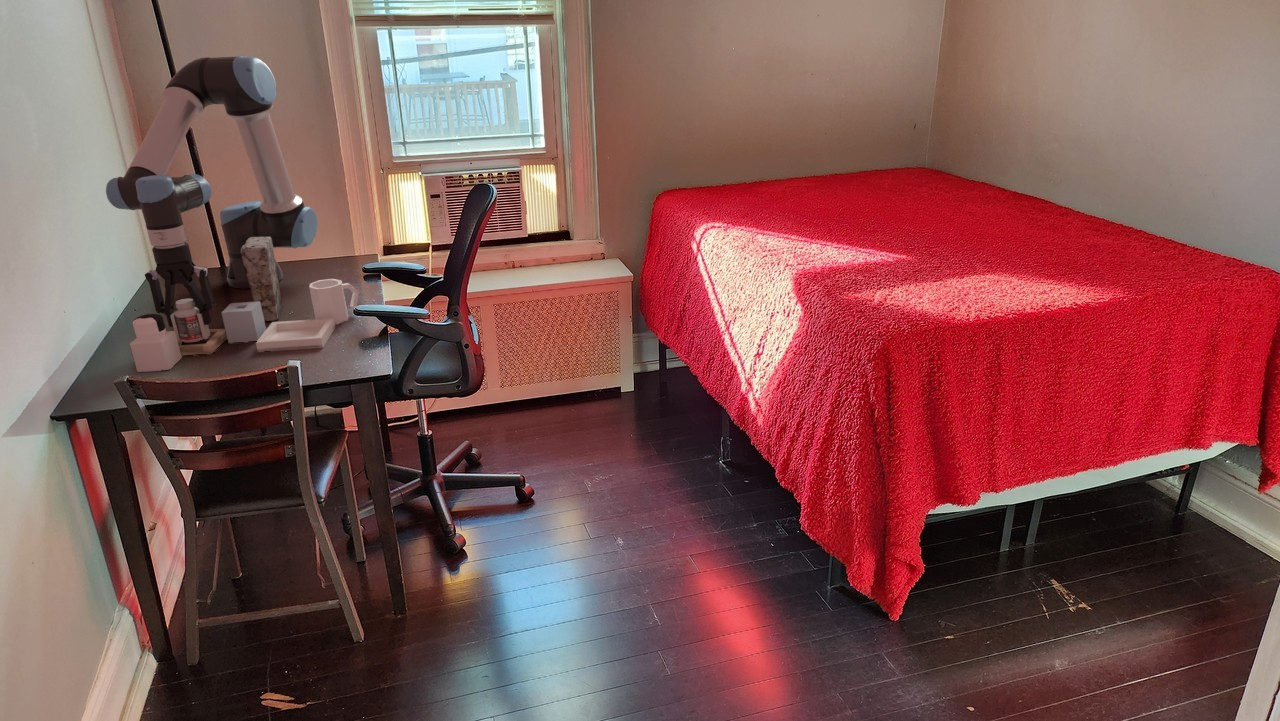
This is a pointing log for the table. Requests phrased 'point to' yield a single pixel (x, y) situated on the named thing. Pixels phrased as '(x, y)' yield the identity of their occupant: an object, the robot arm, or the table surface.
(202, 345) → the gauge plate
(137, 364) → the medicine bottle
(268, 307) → the stone block
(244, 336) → the blue-grey block
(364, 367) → the table surface
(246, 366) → the table surface
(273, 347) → the tray
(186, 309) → the pill bottle
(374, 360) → the table surface
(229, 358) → the table surface
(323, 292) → the mug
